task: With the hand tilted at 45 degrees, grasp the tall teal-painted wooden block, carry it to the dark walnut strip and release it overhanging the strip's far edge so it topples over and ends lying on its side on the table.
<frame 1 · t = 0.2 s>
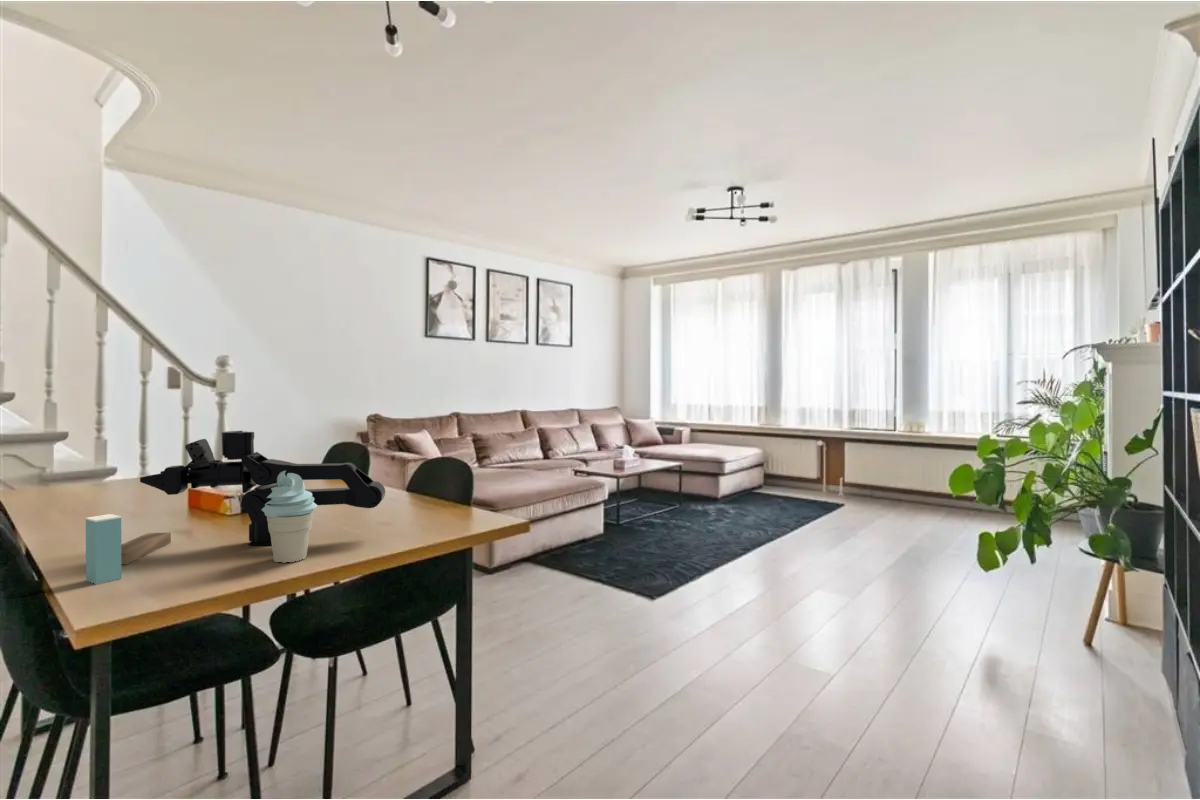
hand: (150, 476, 144), 17 cm above the table, tool horizontal, fingers open, 9 cm apart
walnut strip: (137, 553, 138), on the table
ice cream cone: (290, 559, 136), on the table
teal block: (103, 579, 120), on the table
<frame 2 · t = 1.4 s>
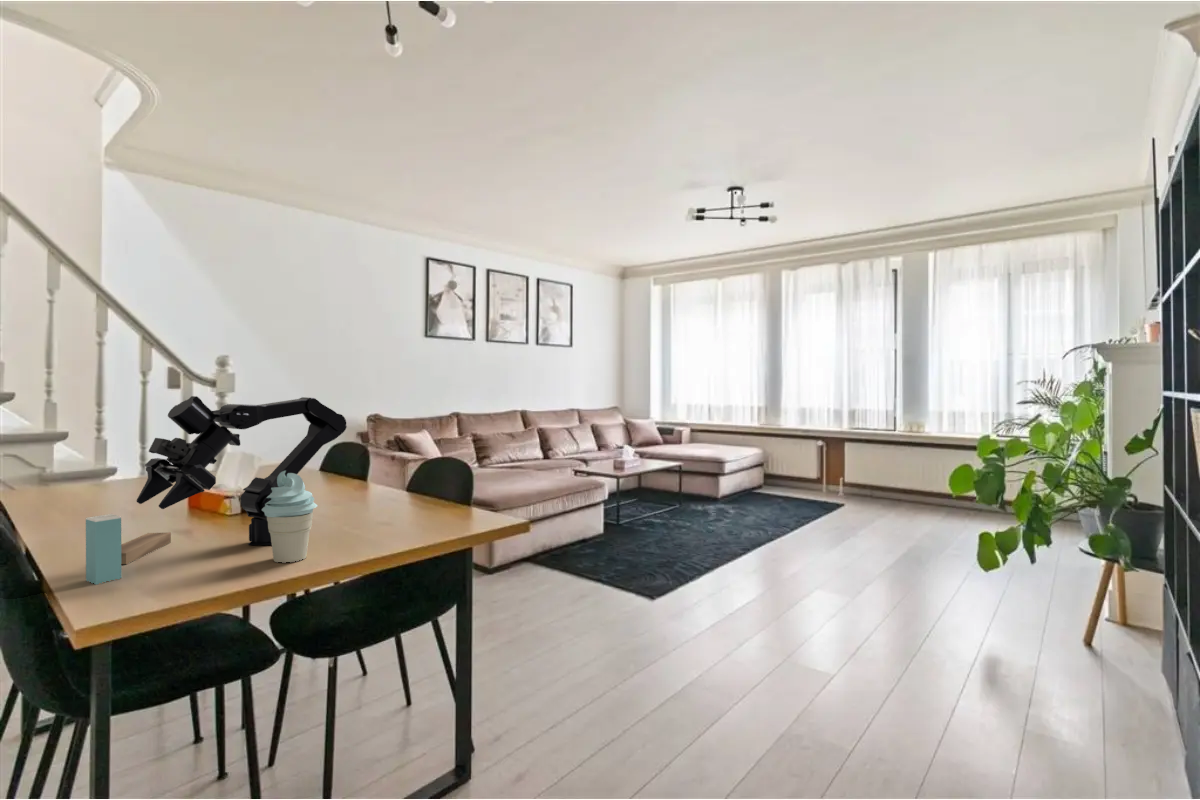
hand: (149, 505, 127), 13 cm above the table, tool tilted 45°, fingers open, 9 cm apart
nothing on the table moved.
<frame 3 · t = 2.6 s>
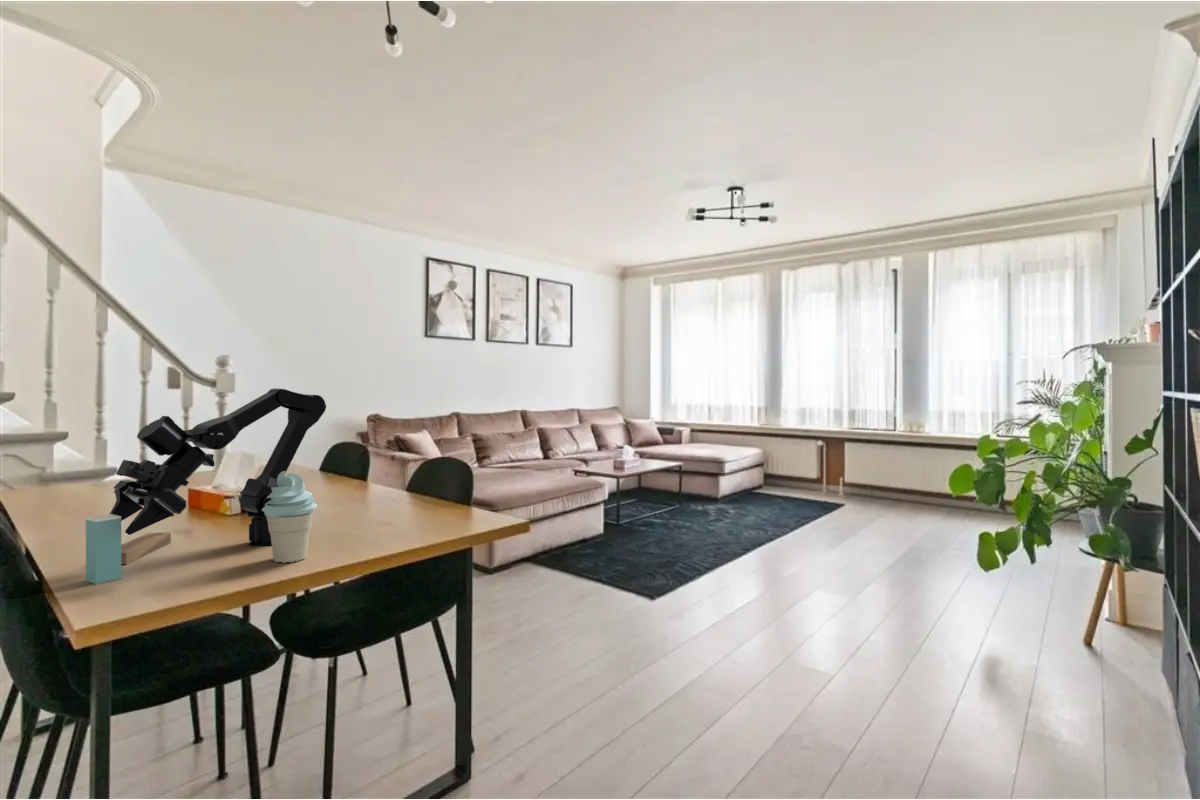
hand: (115, 530, 122), 9 cm above the table, tool tilted 45°, fingers open, 9 cm apart
nothing on the table moved.
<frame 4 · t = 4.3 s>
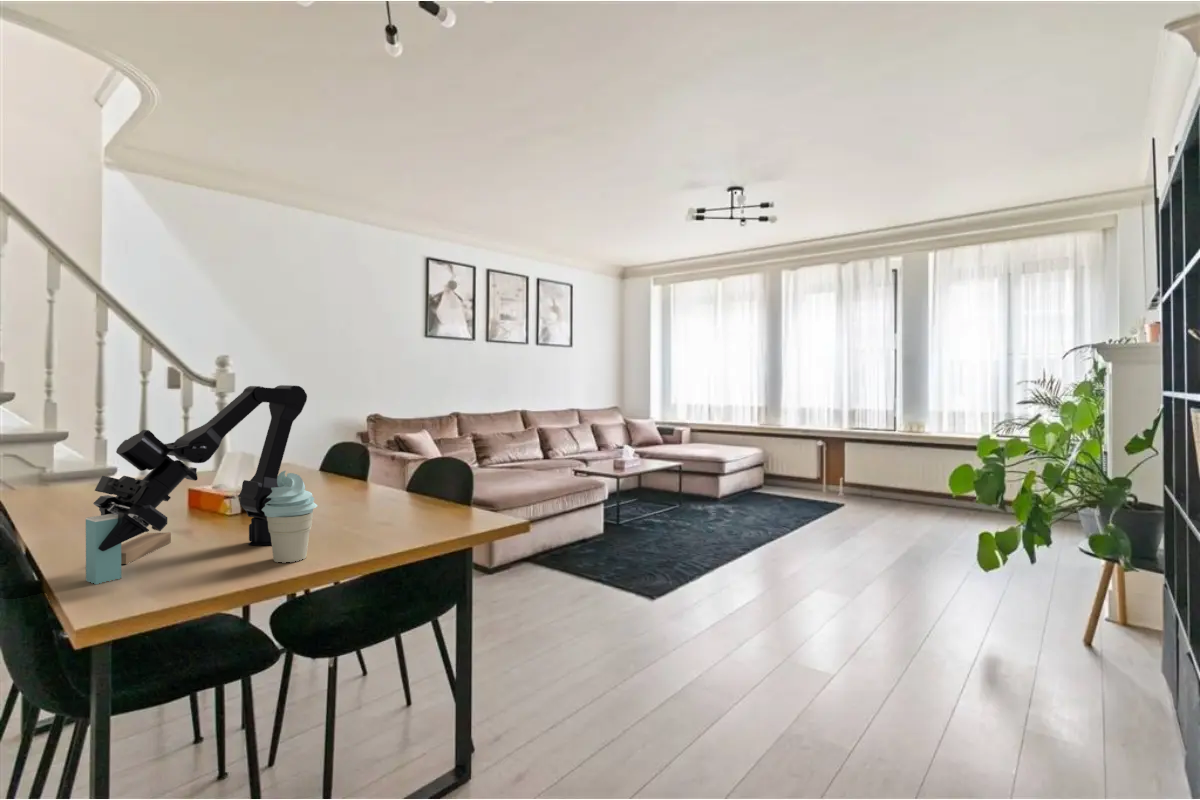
hand: (95, 548, 119), 7 cm above the table, tool tilted 45°, fingers closed on teal block, 4 cm apart
teal block: (103, 579, 120), on the table, touching gripper
everything else where it was.
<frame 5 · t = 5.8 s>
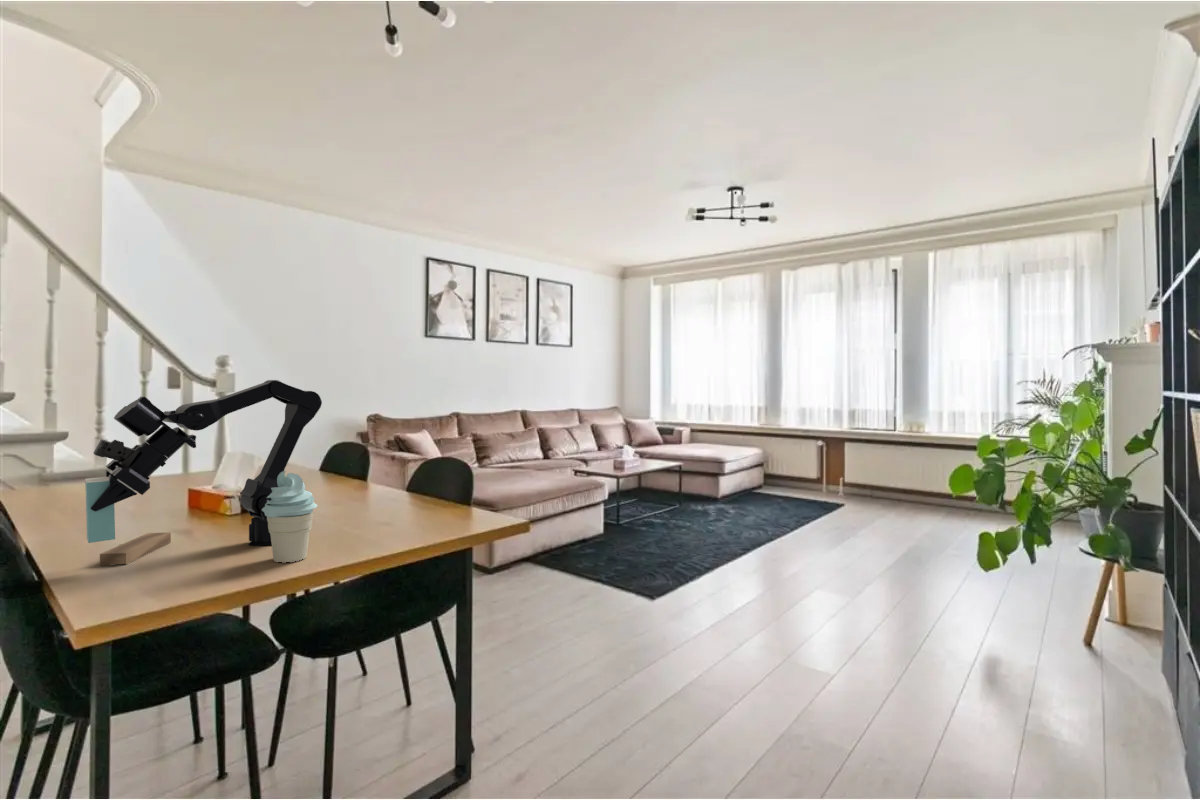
hand: (91, 508, 124), 13 cm above the table, tool tilted 45°, fingers closed on teal block, 4 cm apart
teal block: (101, 539, 125), point 7 cm above the table, touching gripper
everything else where it was.
when the fingers open (10 cm above the table, at t = 7.7 s): teal block drops 1 cm and tips over, point 2 cm above the table.
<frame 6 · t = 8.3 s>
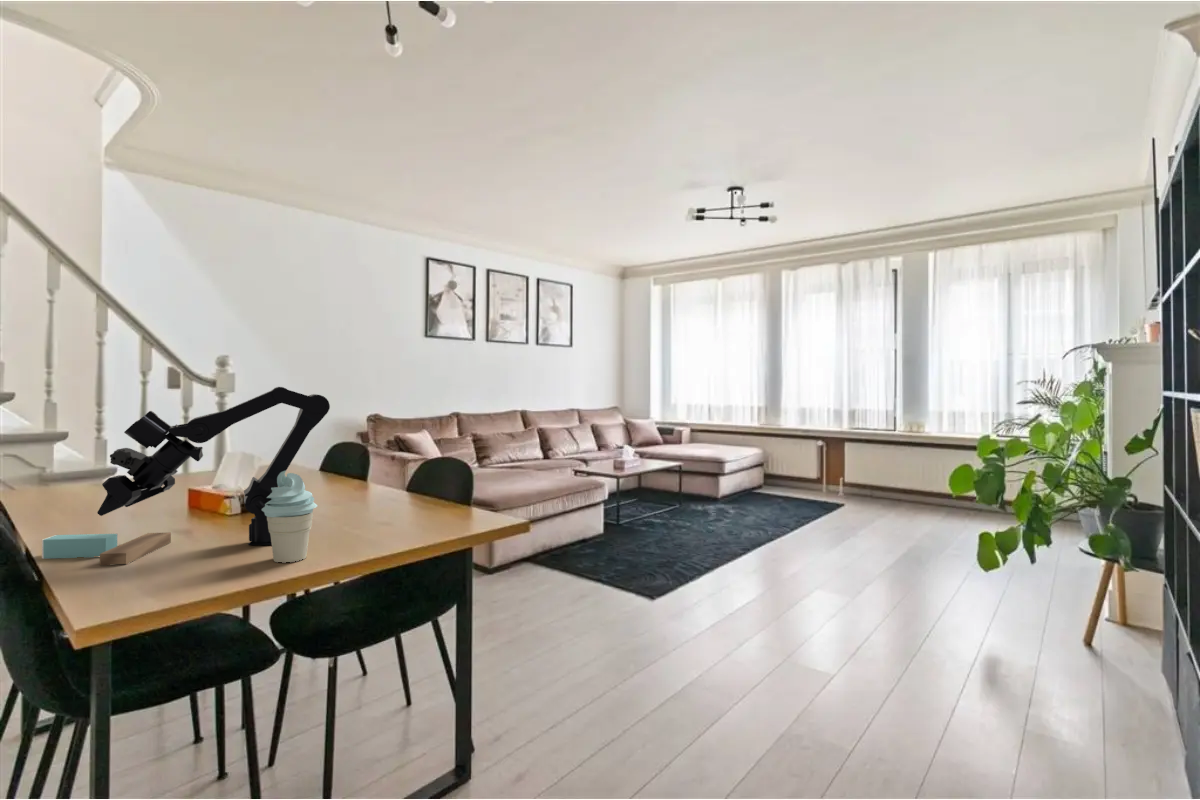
hand: (112, 509, 137), 10 cm above the table, tool tilted 45°, fingers open, 9 cm apart
teal block: (111, 545, 137), point 2 cm above the table, tilted 90°
everything else where it was.
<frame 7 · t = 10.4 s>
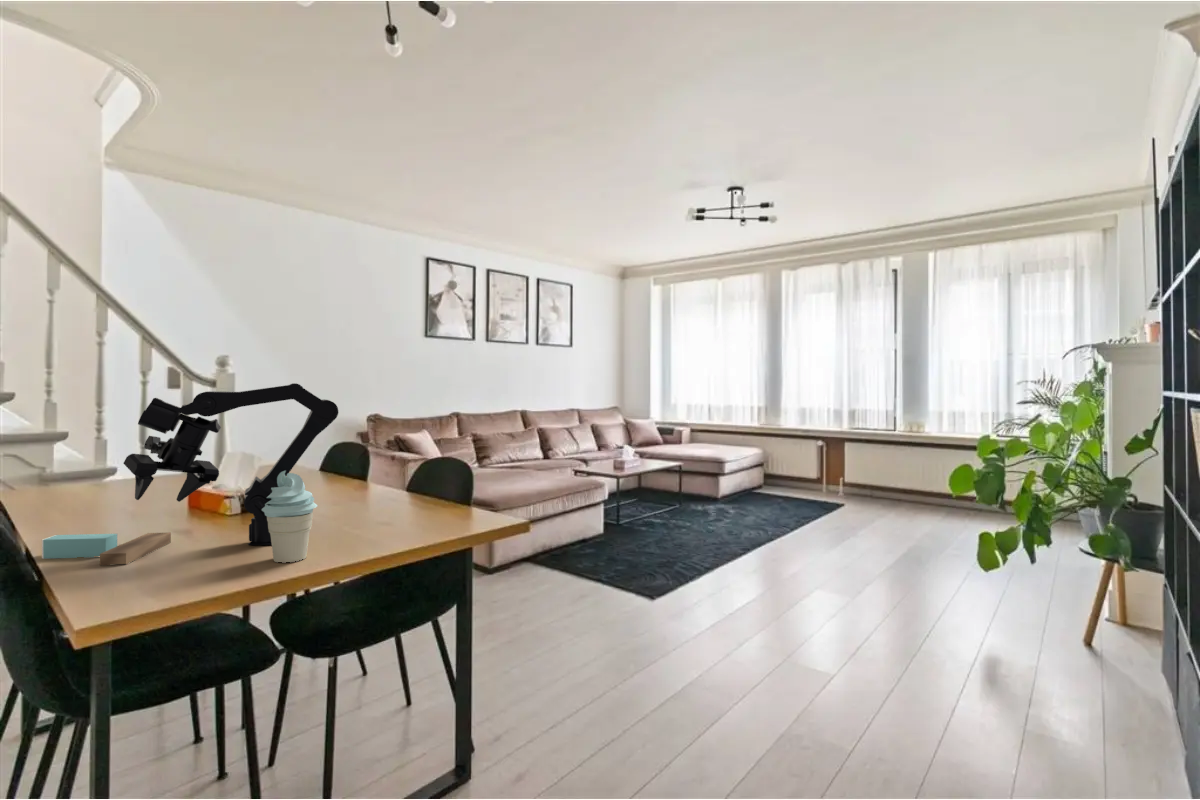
hand: (157, 499, 142), 12 cm above the table, tool tilted 25°, fingers open, 9 cm apart
nothing on the table moved.
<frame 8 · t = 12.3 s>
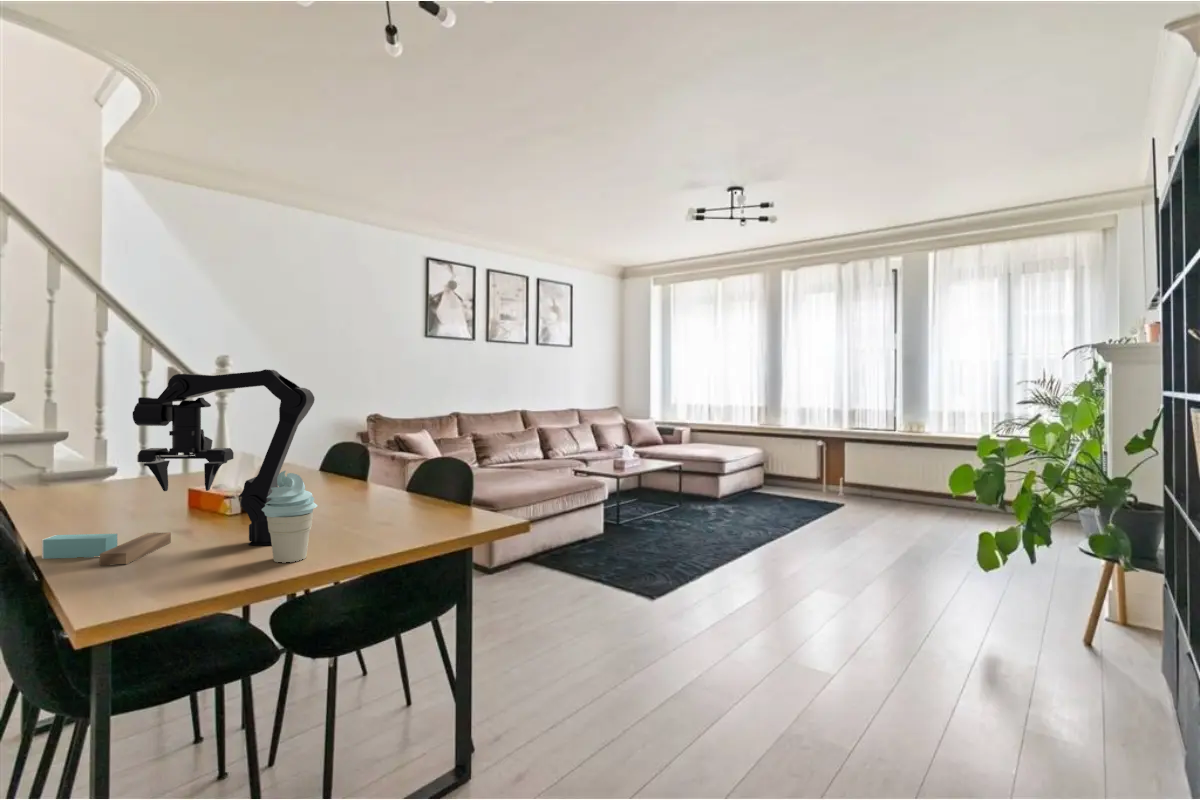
hand: (186, 490, 146), 13 cm above the table, tool pointing down, fingers open, 9 cm apart
nothing on the table moved.
at the end: teal block tilted 90°; teal block inside the target area (3.7 cm from its centre), point 2.0 cm above the table; the gripper is holding nothing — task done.
